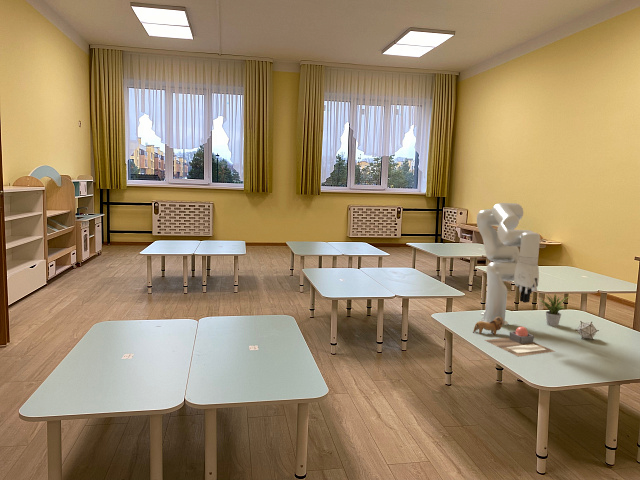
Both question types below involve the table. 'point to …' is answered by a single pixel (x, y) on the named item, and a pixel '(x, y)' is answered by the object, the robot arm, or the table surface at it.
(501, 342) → the brown flat square board
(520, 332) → the pop dome
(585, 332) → the game die
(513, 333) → the dome housing
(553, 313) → the house plant
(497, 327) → the lion figurine
